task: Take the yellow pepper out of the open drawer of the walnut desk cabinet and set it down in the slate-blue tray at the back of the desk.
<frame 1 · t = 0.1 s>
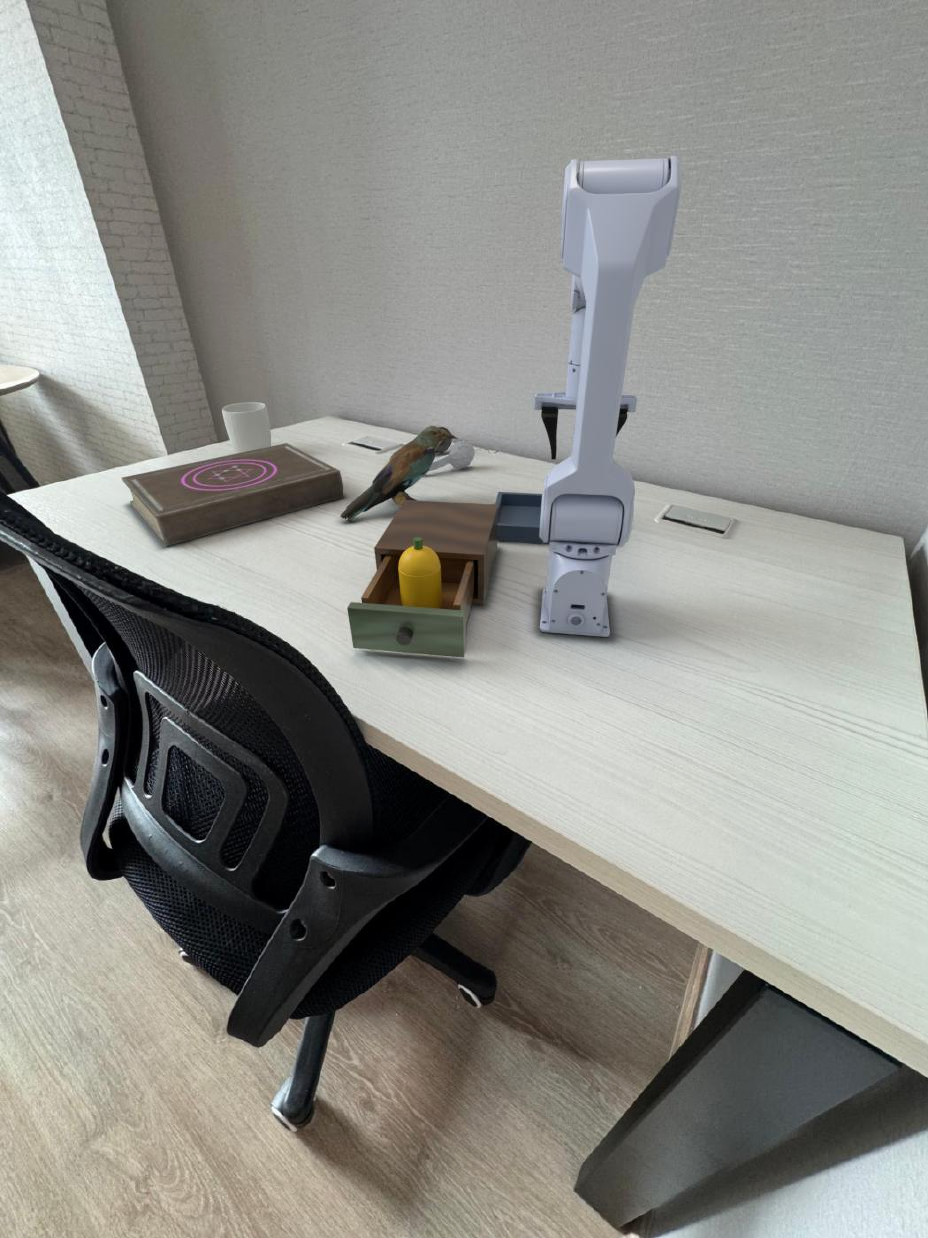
hand: (578, 458, 87), 10 cm above the table, tool pointing down, fingers open, 7 cm apart
mug: (251, 453, 124), on the table
bird figurine: (401, 510, 96), on the table
book: (239, 502, 100), on the table
cabinet: (442, 571, 78), on the table
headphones: (439, 465, 116), on the table
drawer: (419, 600, 65), point 4 cm above the table, slide at 11.0 cm, touching pepper
tray: (541, 524, 91), on the table
pepper: (422, 607, 67), point 2 cm above the table, touching drawer
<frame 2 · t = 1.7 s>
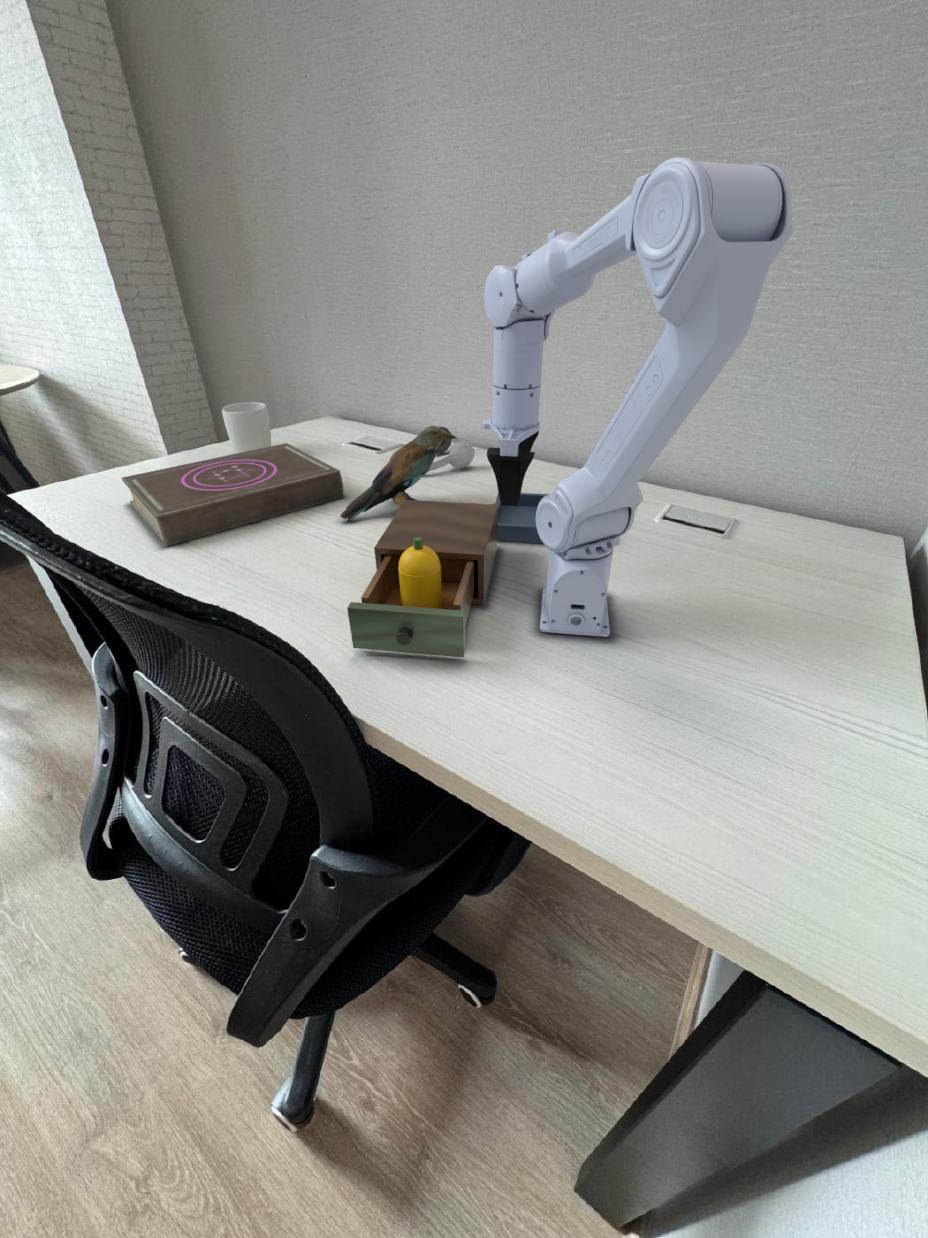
hand: (512, 493, 75), 10 cm above the table, tool pointing down, fingers open, 7 cm apart
nothing on the table moved.
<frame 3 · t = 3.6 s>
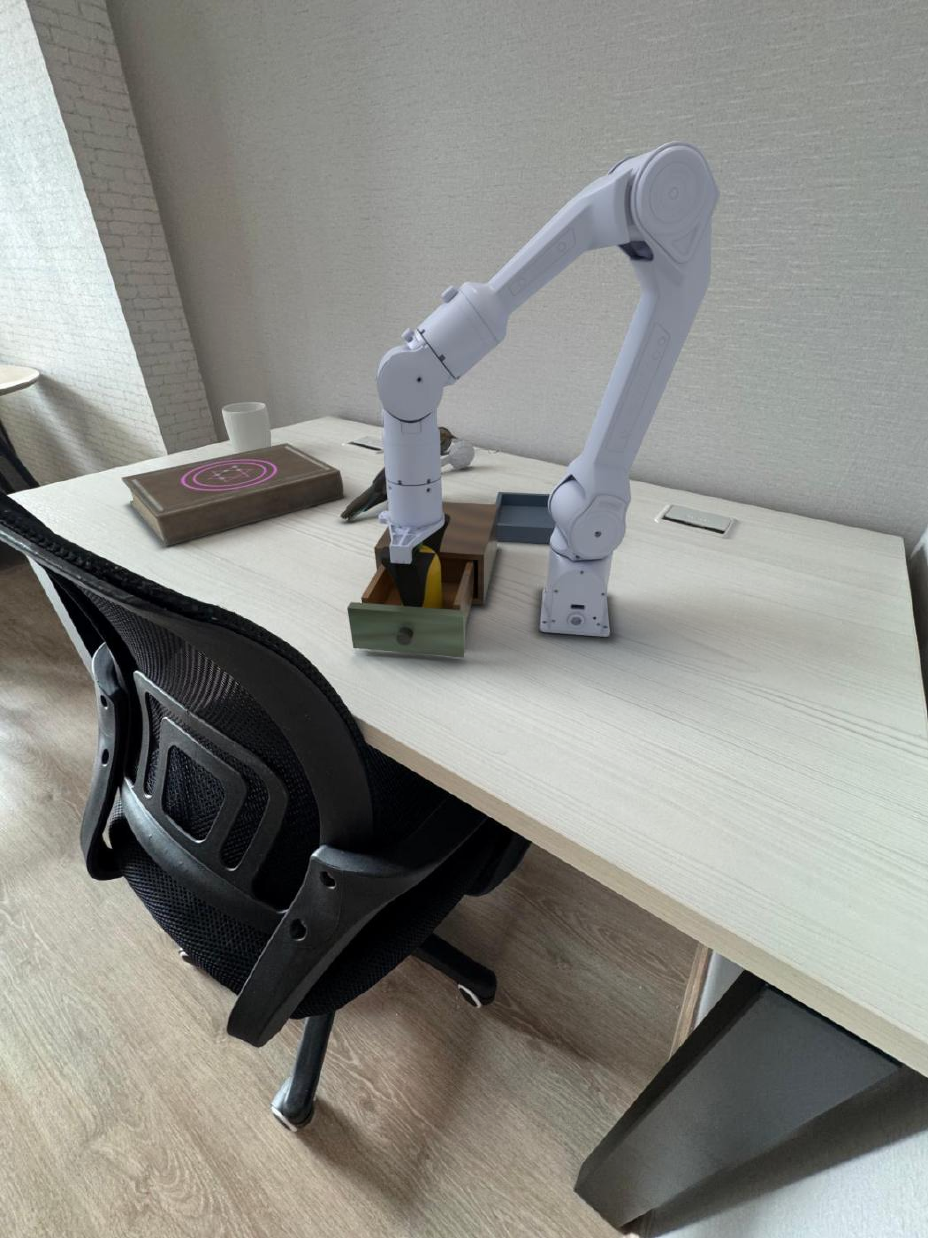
hand: (420, 589, 65), 4 cm above the table, tool pointing down, fingers open, 7 cm apart
nothing on the table moved.
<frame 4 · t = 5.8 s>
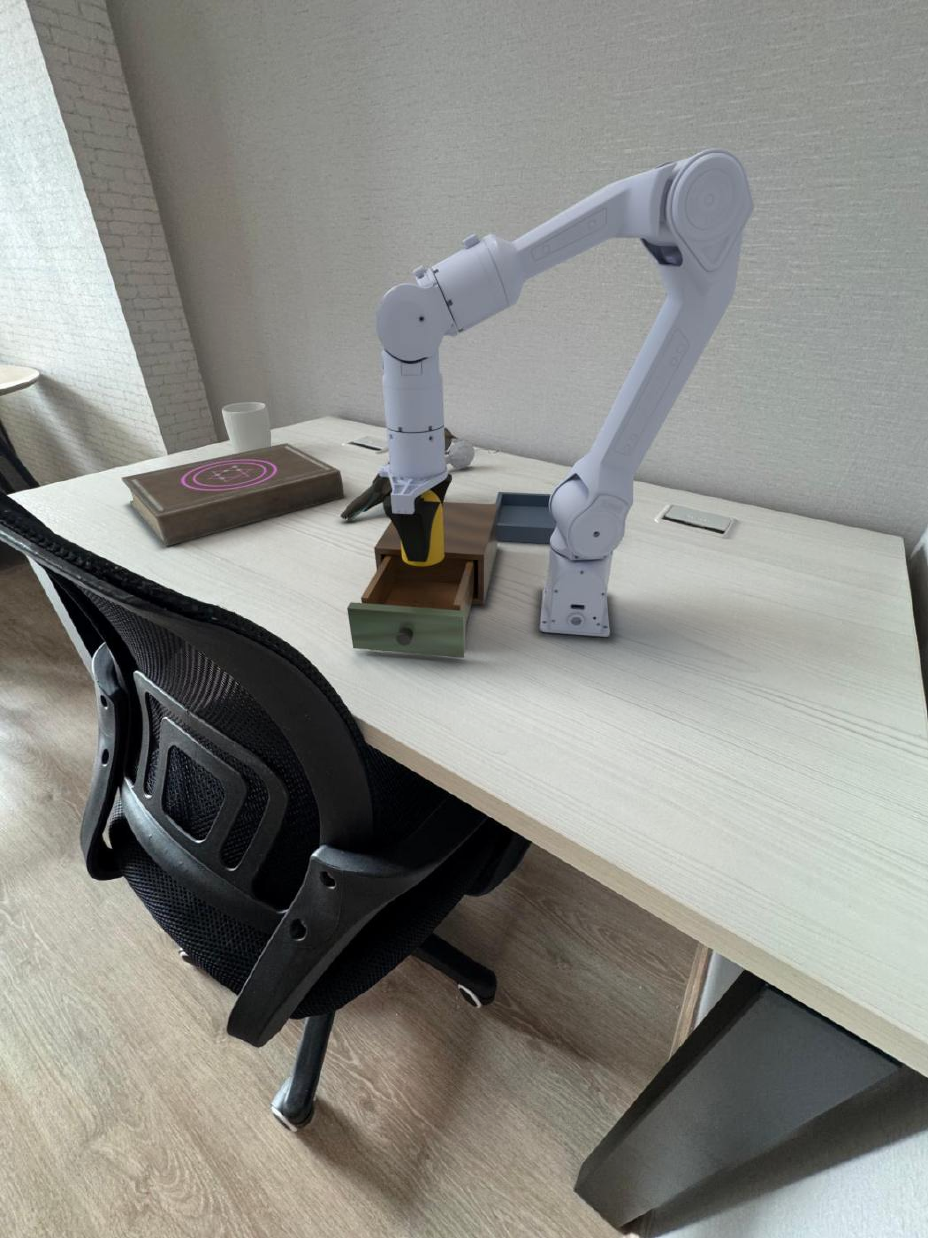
hand: (423, 548, 63), 9 cm above the table, tool pointing down, fingers closed on pepper, 5 cm apart
drawer: (419, 600, 65), point 4 cm above the table, slide at 11.0 cm
pepper: (423, 556, 64), point 9 cm above the table, touching gripper
everything else where it was.
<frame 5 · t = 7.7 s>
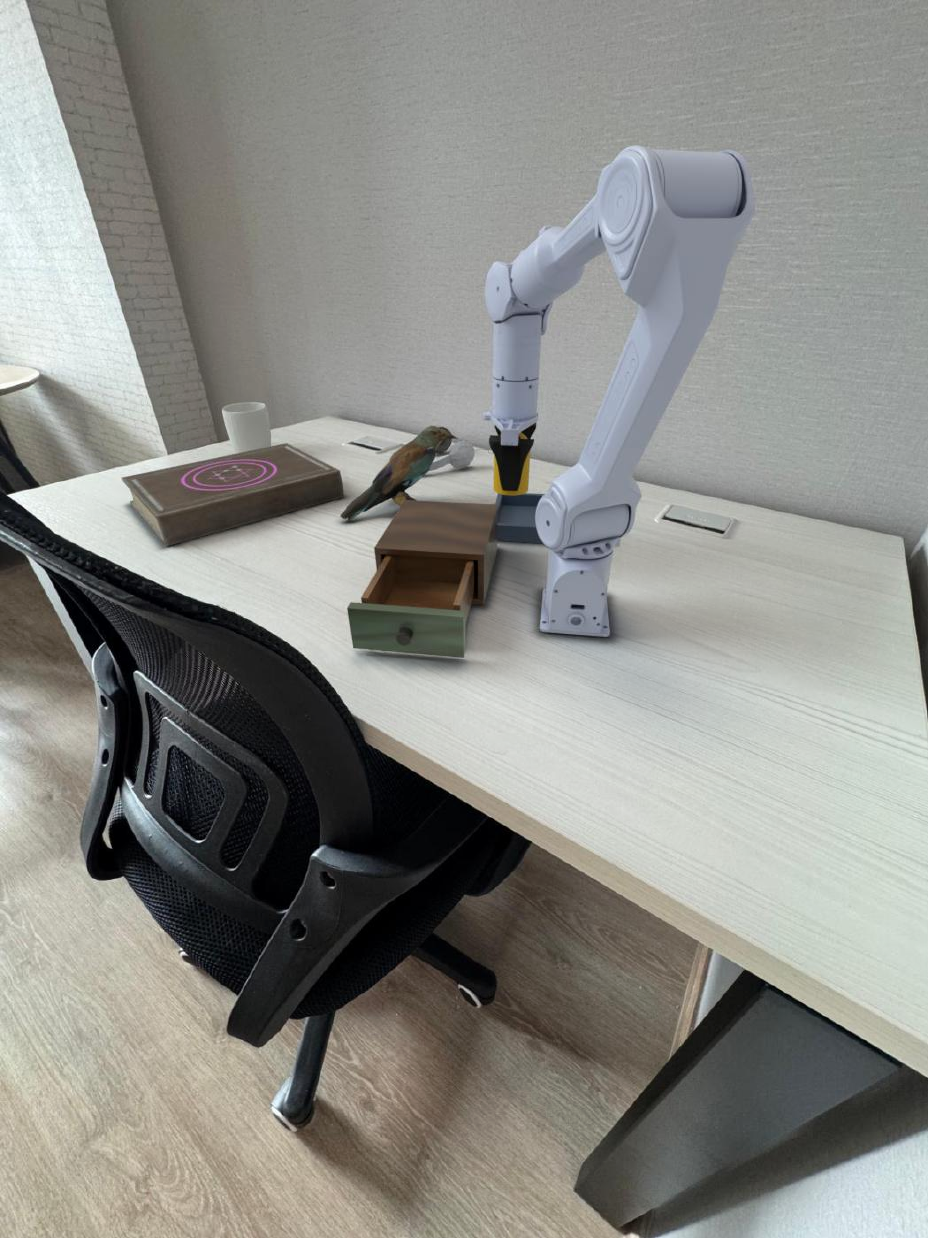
hand: (511, 482, 77), 10 cm above the table, tool pointing down, fingers closed on pepper, 5 cm apart
pepper: (510, 489, 78), point 10 cm above the table, touching gripper
everything else where it was.
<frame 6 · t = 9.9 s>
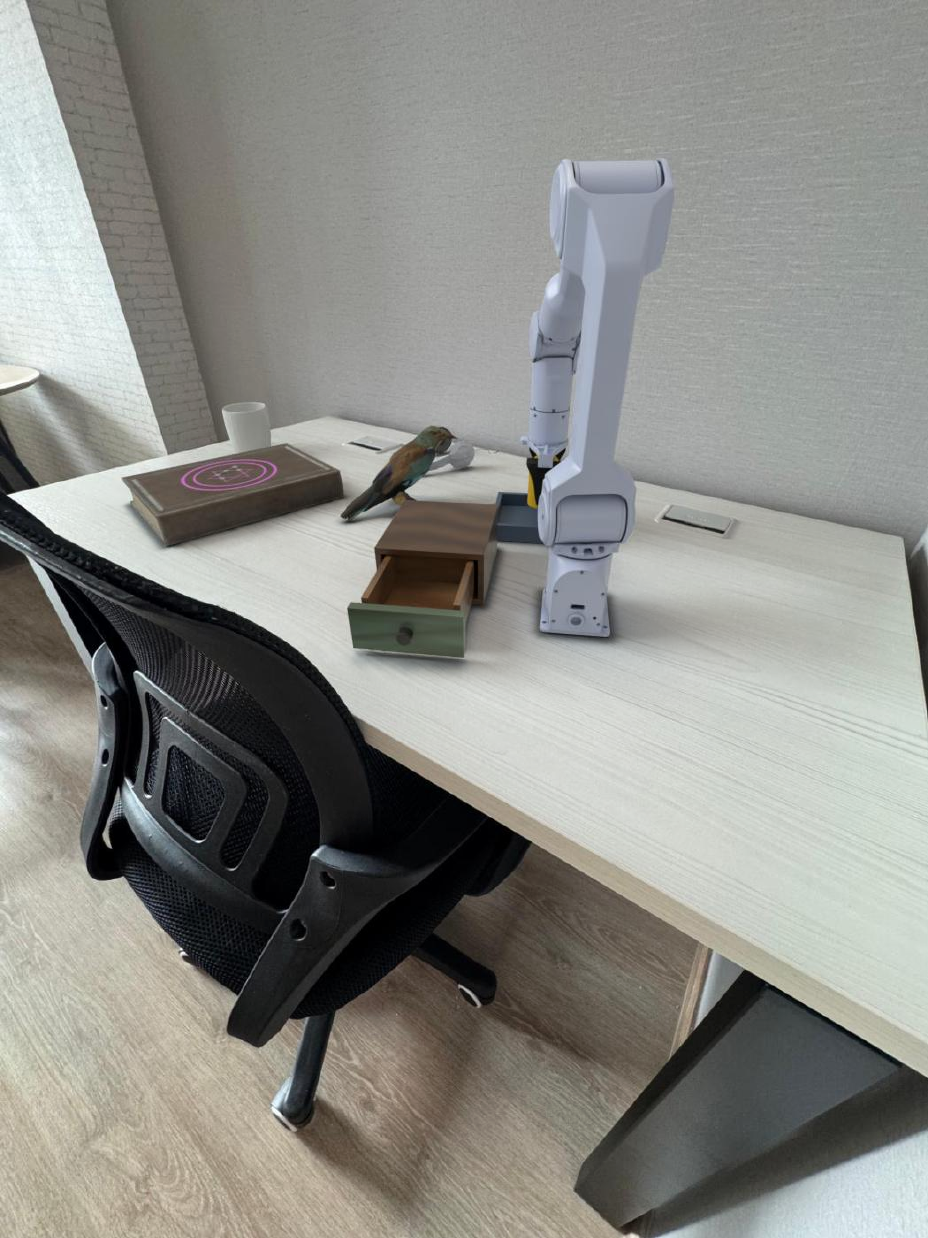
hand: (543, 497, 88), 5 cm above the table, tool pointing down, fingers closed on pepper, 5 cm apart
pepper: (542, 503, 89), point 4 cm above the table, touching gripper
everything else where it was.
when the fingers open (1 cm above the table, at t = 11.3 s): pepper stays where it is, resting on tray.
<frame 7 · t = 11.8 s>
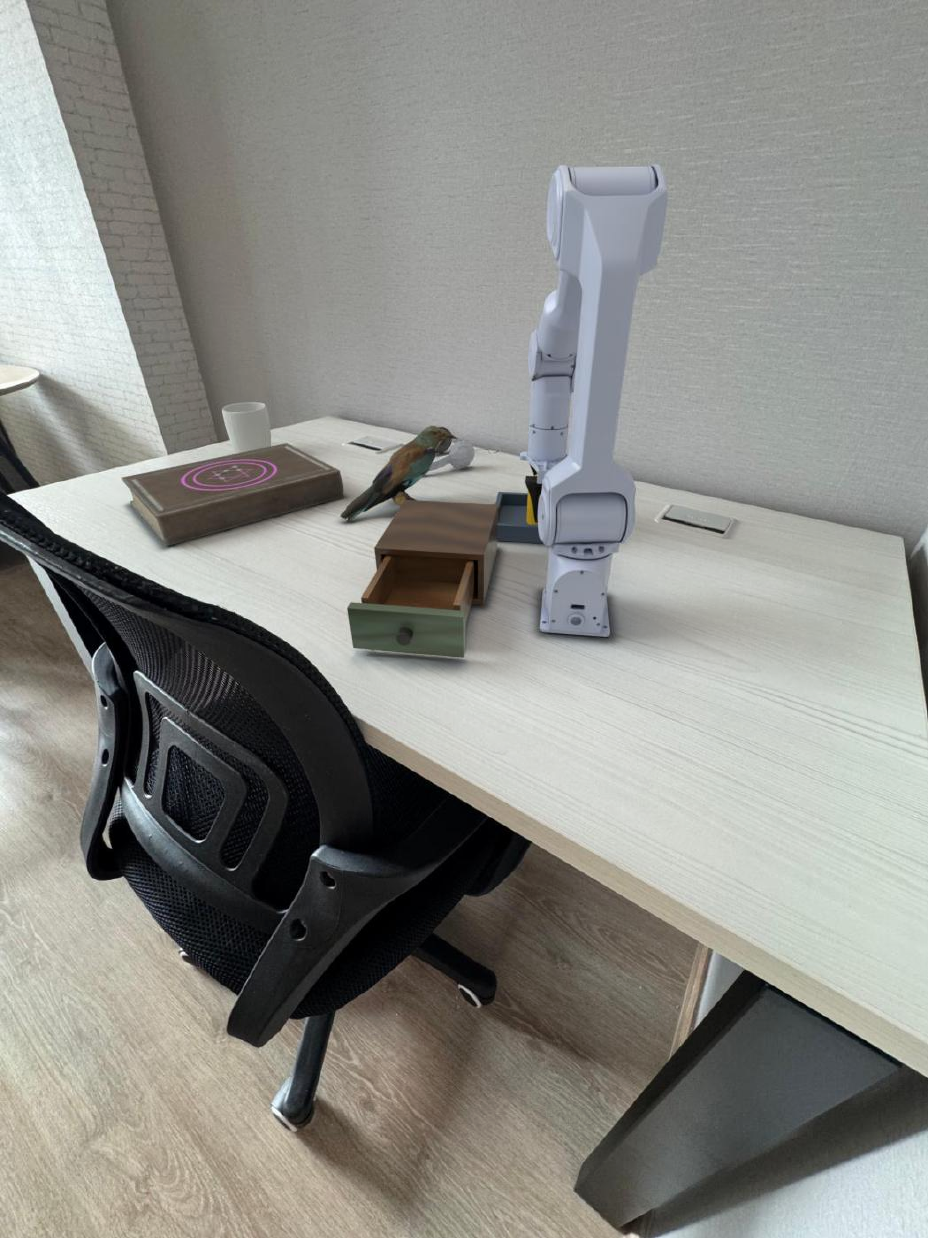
hand: (542, 511, 89), 2 cm above the table, tool pointing down, fingers open, 7 cm apart
pepper: (541, 521, 90), point 1 cm above the table, touching tray
everything else where it was.
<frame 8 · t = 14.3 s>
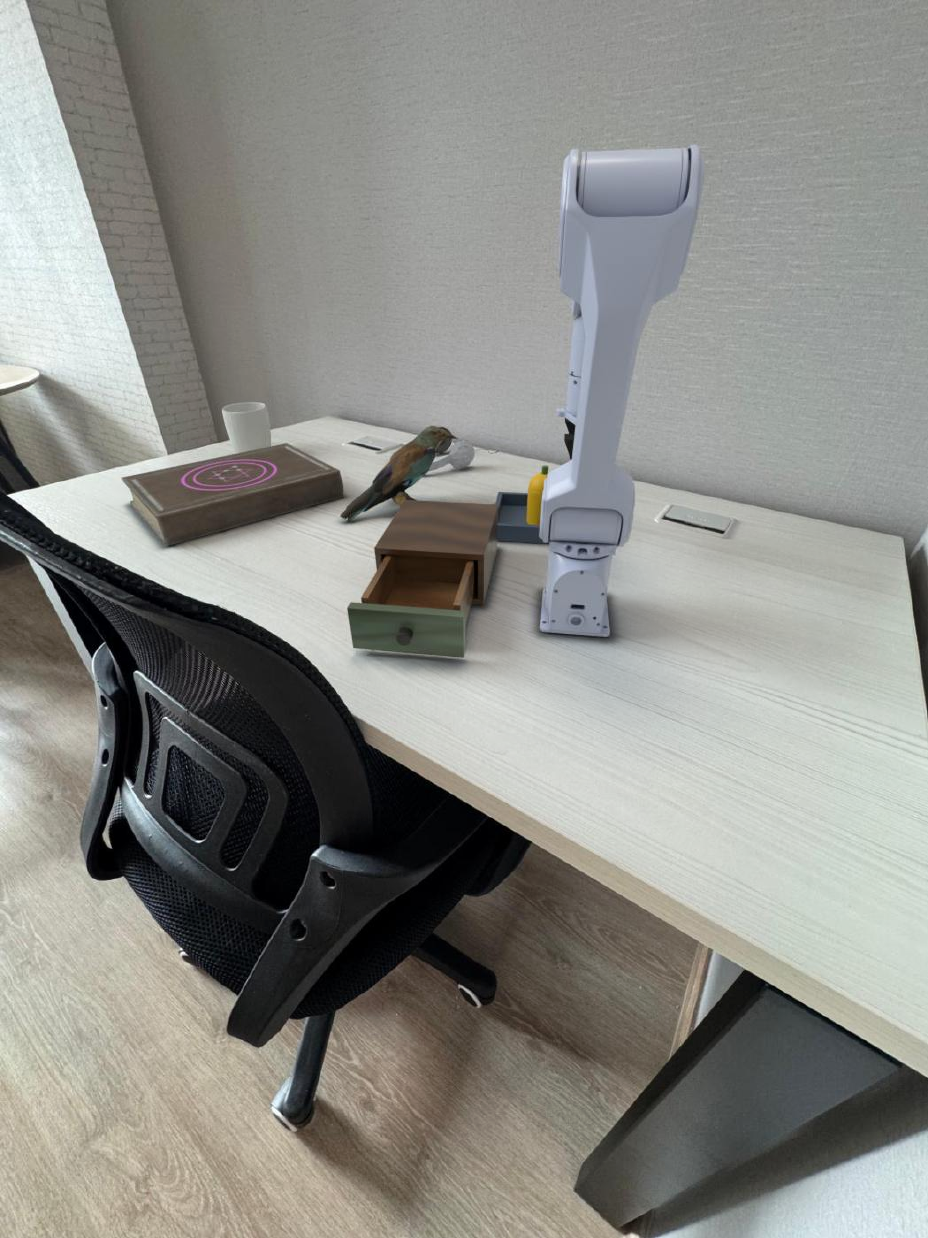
hand: (580, 478, 78), 10 cm above the table, tool pointing down, fingers open, 7 cm apart
nothing on the table moved.
at the end: pepper inside the target area in the tray (0.1 cm from its centre), point 0.6 cm above the tray's base; pepper tilted 0°; the gripper is holding nothing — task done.
